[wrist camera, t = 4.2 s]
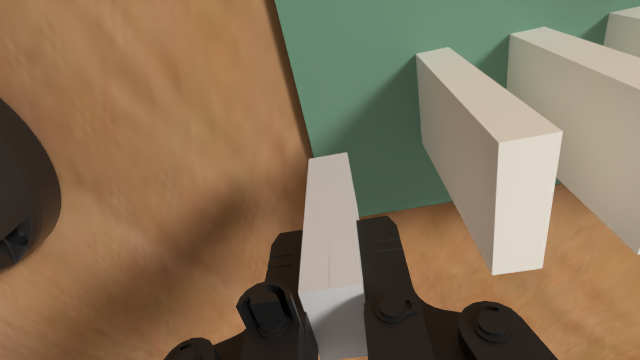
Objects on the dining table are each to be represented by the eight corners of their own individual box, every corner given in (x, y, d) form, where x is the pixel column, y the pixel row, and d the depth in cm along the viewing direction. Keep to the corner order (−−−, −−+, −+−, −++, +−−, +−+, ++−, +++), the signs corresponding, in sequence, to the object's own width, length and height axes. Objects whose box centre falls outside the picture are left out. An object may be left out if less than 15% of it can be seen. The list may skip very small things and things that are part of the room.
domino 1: (422, 142, 21) (492, 275, 12) (415, 54, 18) (498, 143, 10) (450, 137, 20) (542, 268, 12) (448, 46, 18) (563, 131, 9)
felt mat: (330, 216, 24) (330, 221, 24) (271, -19, 17) (269, -18, 16) (927, 116, 20) (943, 120, 20) (1183, -242, 13) (1217, -250, 13)
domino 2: (504, 127, 20) (637, 254, 12) (509, 33, 18) (685, 109, 9) (534, 122, 20) (692, 247, 11) (544, 26, 17) (757, 96, 9)
